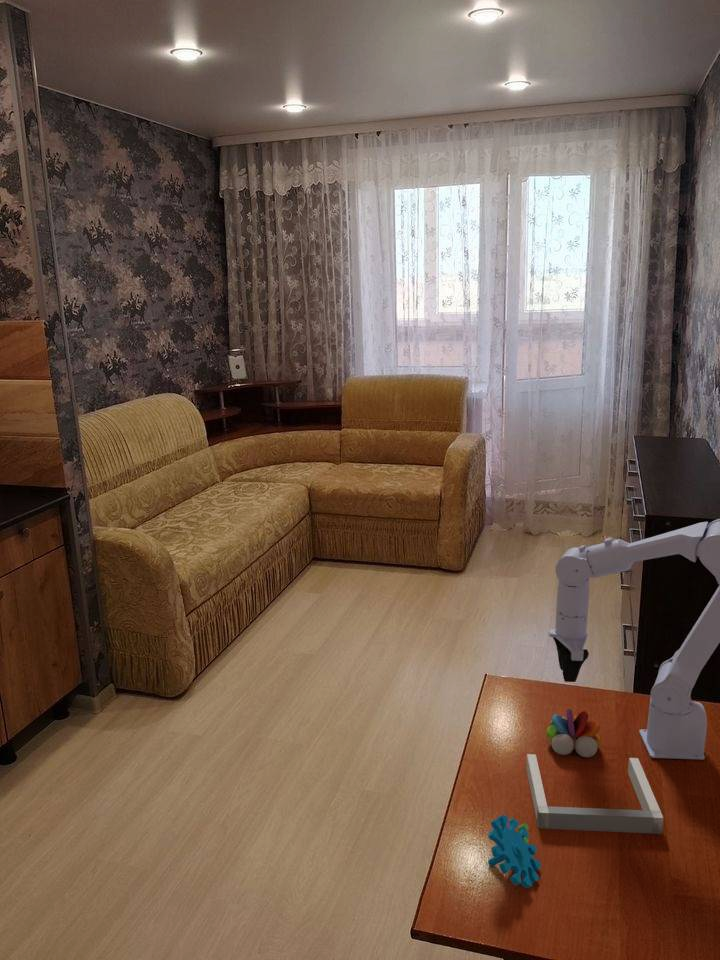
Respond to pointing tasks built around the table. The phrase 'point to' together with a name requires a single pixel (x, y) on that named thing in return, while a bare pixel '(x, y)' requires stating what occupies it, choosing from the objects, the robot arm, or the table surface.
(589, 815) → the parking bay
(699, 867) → the table surface
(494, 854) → the teal knobby piece
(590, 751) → the rainbow petal cluster
